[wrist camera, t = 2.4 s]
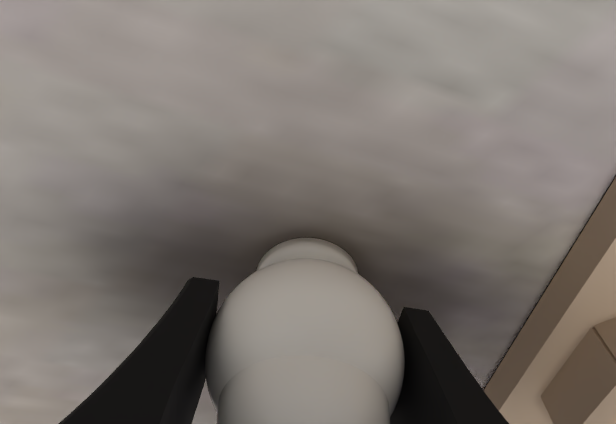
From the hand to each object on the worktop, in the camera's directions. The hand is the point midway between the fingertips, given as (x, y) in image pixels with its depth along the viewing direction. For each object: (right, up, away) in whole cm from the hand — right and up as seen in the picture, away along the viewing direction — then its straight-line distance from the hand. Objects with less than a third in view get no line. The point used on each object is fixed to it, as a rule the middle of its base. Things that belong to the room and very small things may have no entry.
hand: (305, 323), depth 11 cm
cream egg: (0, +1, +1) cm, 2 cm away
